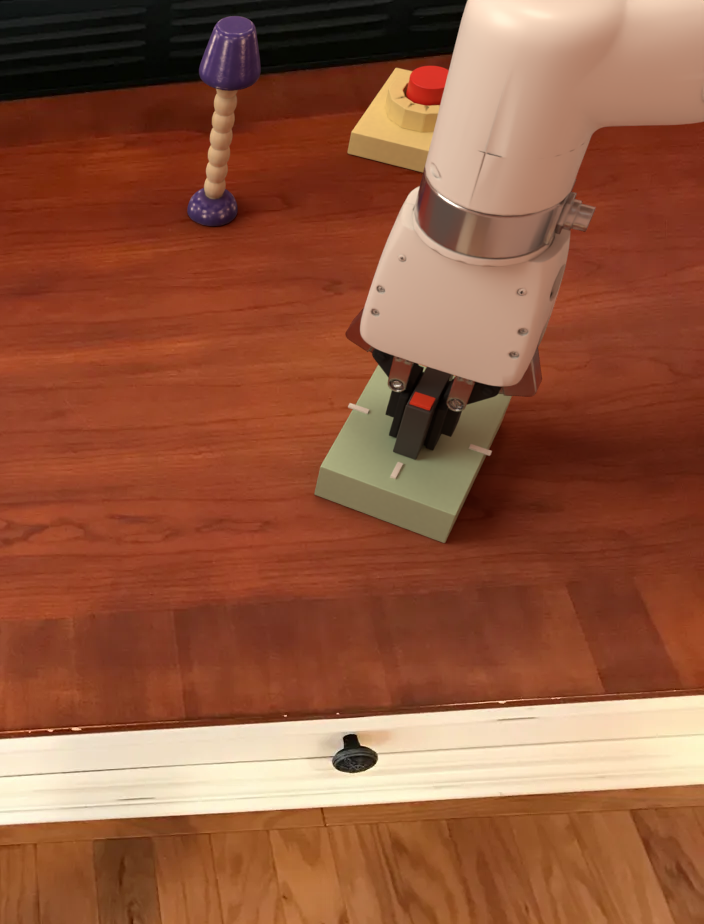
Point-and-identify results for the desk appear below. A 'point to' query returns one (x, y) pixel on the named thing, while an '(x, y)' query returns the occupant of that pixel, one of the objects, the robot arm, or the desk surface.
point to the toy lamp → (224, 112)
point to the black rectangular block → (420, 412)
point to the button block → (395, 127)
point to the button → (427, 85)
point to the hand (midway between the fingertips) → (418, 428)
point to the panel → (407, 464)
